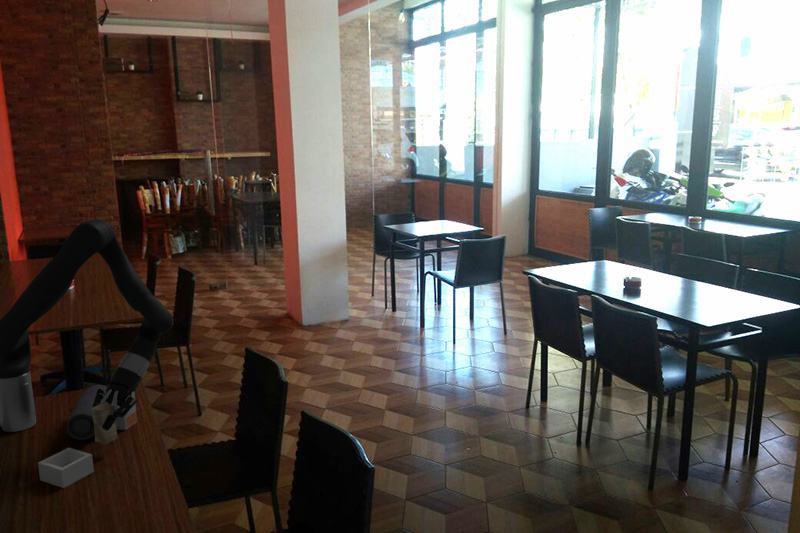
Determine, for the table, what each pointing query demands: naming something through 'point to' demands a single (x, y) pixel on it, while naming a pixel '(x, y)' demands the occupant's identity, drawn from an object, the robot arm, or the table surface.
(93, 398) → the bluetooth speaker
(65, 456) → the socket stand
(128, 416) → the skincare box
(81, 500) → the table surface
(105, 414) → the birch peg
